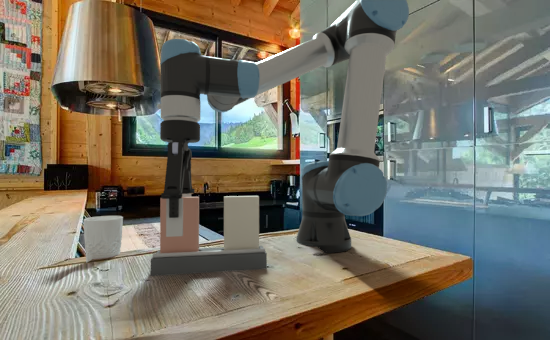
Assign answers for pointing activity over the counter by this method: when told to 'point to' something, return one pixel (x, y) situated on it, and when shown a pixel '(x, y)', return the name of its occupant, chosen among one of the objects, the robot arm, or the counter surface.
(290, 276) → the counter surface
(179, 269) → the grey stand base
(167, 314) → the counter surface
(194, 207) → the panel
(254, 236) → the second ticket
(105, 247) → the white cup
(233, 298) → the counter surface
